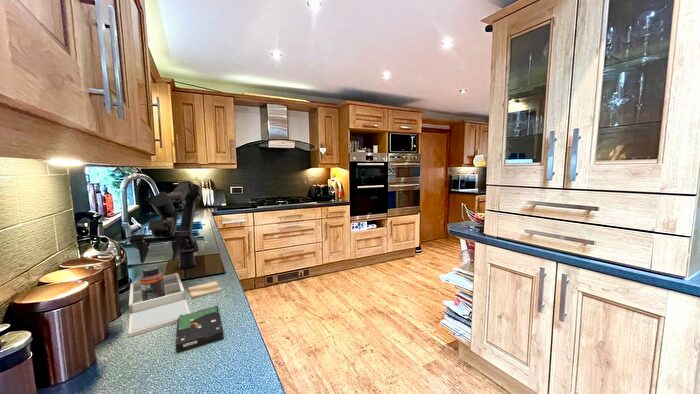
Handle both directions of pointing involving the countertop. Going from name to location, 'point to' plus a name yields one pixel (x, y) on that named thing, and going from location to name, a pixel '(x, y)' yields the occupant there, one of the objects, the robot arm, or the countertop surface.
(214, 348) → the countertop surface
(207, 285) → the cork mat
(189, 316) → the disk drive
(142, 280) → the supplement bottle
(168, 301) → the equipment case
